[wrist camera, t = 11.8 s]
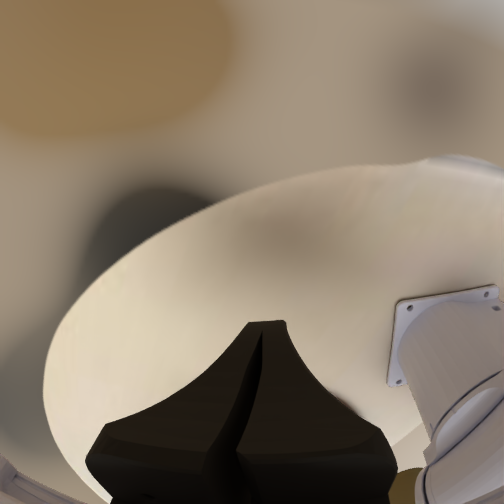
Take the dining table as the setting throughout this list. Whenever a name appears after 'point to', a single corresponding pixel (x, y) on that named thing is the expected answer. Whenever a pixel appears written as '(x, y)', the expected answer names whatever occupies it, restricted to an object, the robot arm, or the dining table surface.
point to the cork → (404, 487)
